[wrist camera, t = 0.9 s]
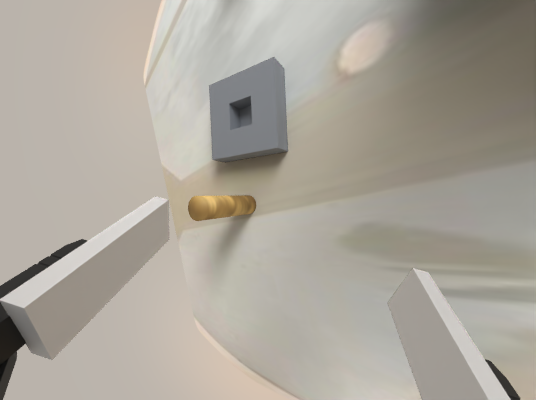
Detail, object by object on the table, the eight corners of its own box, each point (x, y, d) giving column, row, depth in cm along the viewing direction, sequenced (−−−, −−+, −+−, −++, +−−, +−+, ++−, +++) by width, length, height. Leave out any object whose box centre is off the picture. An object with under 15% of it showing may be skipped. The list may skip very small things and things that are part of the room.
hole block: (222, 93, 50) (209, 85, 46) (284, 68, 41) (273, 56, 38) (225, 162, 50) (212, 159, 46) (287, 151, 41) (277, 147, 38)
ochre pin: (240, 195, 47) (187, 196, 35) (255, 195, 45) (204, 195, 33) (241, 214, 47) (188, 220, 35) (256, 213, 45) (205, 221, 33)
